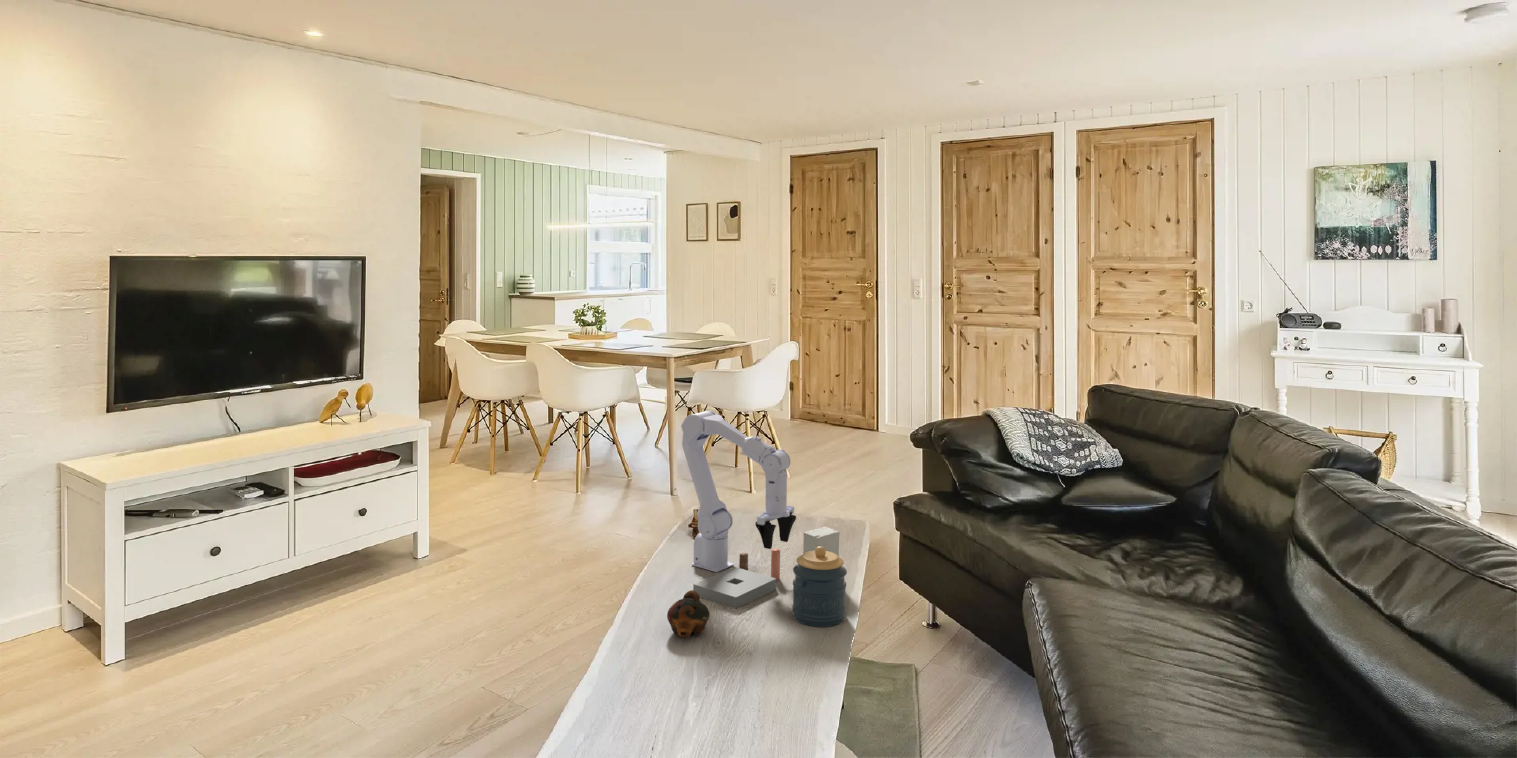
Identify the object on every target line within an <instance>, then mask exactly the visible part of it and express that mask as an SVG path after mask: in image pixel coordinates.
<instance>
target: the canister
mask: <svg viewBox="0 0 1517 758" xmlns="http://www.w3.org/2000/svg"><path fill="white" fill-rule="evenodd" d="M796 563H797V564H795V565H794V566H793V568H792V572H793V574H794V579H793V581H792V586H793V587H792V588H793V591H792V594H793V595H792V605H791V610H792V612H791V613H792V617H793V618H794V620H796V622H798V623H800V624H802V625H806V626H810V627H822V628H823V627H832V626H836V625H839V624H840V623H842V622H844V620H845V618H846V617H845V615H846V611H847V608H846V592H847V591H846V589H847V582H846V581H845V576H846V575H847V573H848V570H847V569H846V566H845V567H844V564H845V563H844V559H843V558H842V557H840V556H839V557H838V556H837V555H836V554H835V553H832V552H829V551H826V550H825V548H824V547H822V546H818V547H817V548H816V549H815V551H808V552H806V553H804V554H803V553H802V554H801V555H798V557H797V558H796Z"/></svg>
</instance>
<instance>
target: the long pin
mask: <svg viewBox="0 0 1517 758" xmlns="http://www.w3.org/2000/svg"><path fill="white" fill-rule="evenodd" d="M770 552H771V555H770V557H771V558H770V561H771V562H770V577H773V578H776V581H779V580H780V578H781V576H780V574H781V549H779V548H771V549H770Z"/></svg>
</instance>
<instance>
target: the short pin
mask: <svg viewBox="0 0 1517 758" xmlns="http://www.w3.org/2000/svg"><path fill="white" fill-rule="evenodd" d="M738 557H739V558H738V559H739V567H738V568H741V569H744V570H748V571H749V554H748V552H740V553H739V556H738Z"/></svg>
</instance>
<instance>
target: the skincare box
mask: <svg viewBox="0 0 1517 758" xmlns="http://www.w3.org/2000/svg"><path fill="white" fill-rule="evenodd" d="M818 546H822V547H824V548H825V550H826V551H829V552H832V553H835V554H836V555H837V556H838V557H840V552H839V551H840V550H839V549H840V531H838V530H835V529H833V528H831V527H828V526H821V527H819V528H816V529H811V530H808V531H804V532H803V547H802V548H803V549H802V550H803V551H802V555H803V554H804V553H806V552H808V551H815V549H816V548H817V547H818Z"/></svg>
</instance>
